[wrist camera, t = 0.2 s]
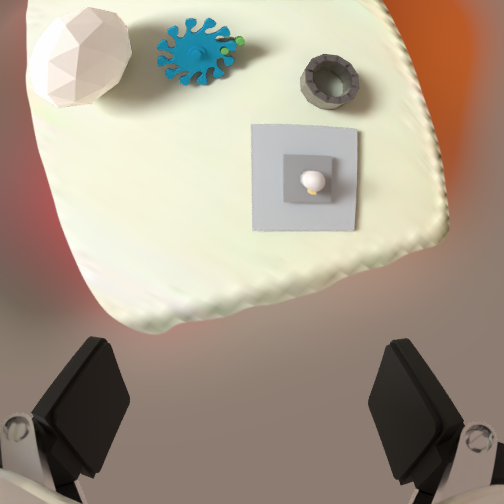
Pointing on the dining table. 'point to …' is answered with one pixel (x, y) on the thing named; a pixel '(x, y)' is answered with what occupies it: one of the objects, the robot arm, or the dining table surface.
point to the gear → (198, 51)
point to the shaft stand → (303, 177)
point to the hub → (338, 68)
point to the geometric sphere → (80, 57)
